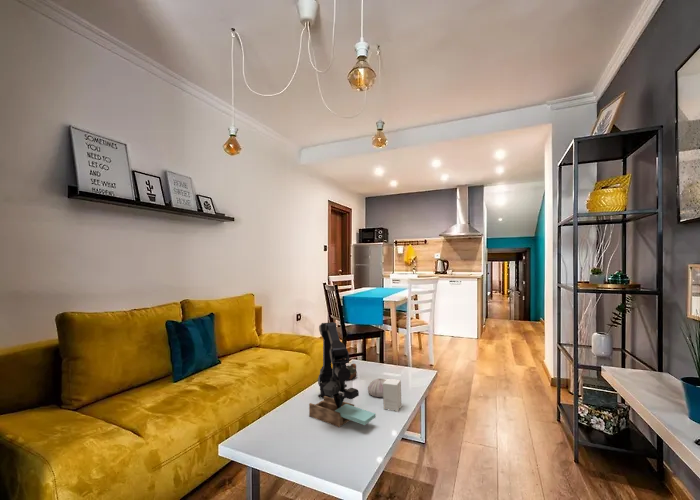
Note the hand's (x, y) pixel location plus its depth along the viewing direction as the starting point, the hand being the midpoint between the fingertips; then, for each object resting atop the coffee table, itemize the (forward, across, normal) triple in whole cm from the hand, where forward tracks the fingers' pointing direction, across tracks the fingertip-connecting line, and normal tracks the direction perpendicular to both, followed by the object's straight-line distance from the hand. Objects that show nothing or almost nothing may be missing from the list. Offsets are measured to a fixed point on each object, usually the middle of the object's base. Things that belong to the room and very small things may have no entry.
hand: (338, 408), depth 147 cm
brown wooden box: (+5, -4, 0) cm, 7 cm away
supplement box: (+5, +14, +25) cm, 29 cm away
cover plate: (+1, +9, 0) cm, 9 cm away
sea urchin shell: (+5, -1, +36) cm, 36 cm away
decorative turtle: (+5, -29, +46) cm, 54 cm away
